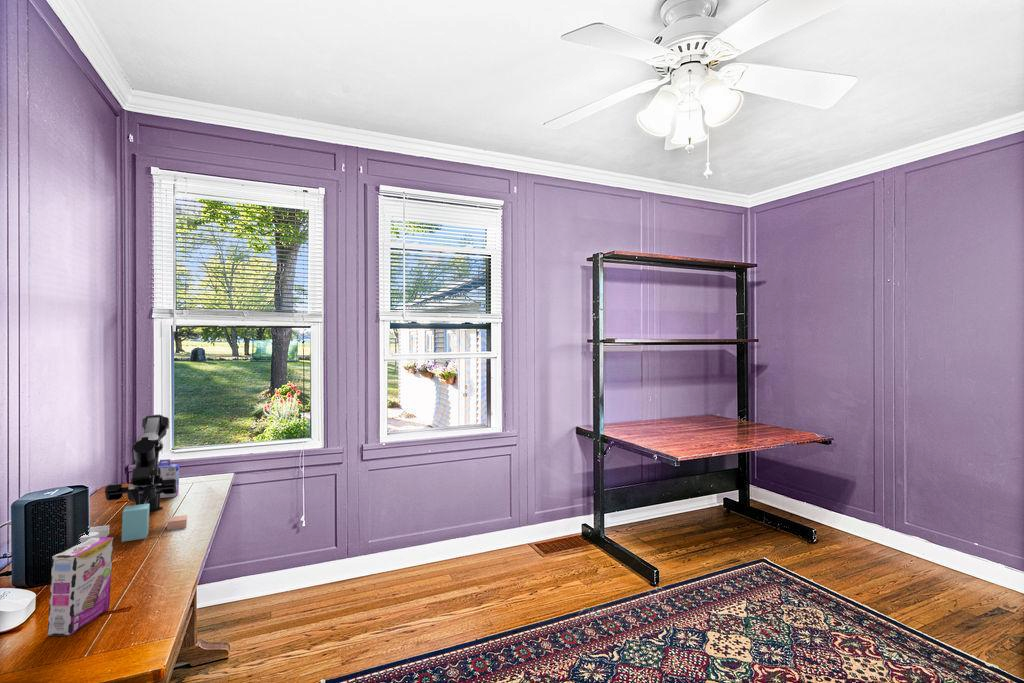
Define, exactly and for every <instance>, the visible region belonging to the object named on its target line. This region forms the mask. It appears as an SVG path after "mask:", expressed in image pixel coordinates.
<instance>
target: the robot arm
mask: <svg viewBox="0 0 1024 683" xmlns="http://www.w3.org/2000/svg"><path fill="white" fill-rule="evenodd" d="M141 421H142V422H141V429H142V431H143V434H142V435H141V436H139V437H138V438H137V440H136V442H134V444H132V445H133V446H132V448H131V451H132V453H133V457H134V461H135V464H134V468H132V471H131V480H130V483H131V485H128V486H125V487H123V484H122V482H119V483H109V484H107V485H106V486H105V488H104V494H105V500H106V501H118V500H121V499H122V498H123V495H125V494H127V500H128V501H132V503H133V505H140V504H149V503H150V508H149V513H153V512H156V511H158V510H163V509H164V508H163V506H161V498H160V494H161V493H164V494H165V495H166V494H174V493H176V488H177V484H176V479H175V478H171V479H163V477H161V470H160V468H159V467H158V465H159V460H160V459H159V457H160V452H161V451H162V450H163V448H164V444H163V442H162V439H163V438H164V437H165V436H166V435H167V430H169V429H170V419H169V417H167V416H163V414H160V413H159V414H148V415H146V417H144V418H142V420H141Z"/></svg>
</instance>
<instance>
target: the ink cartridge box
mask: <svg viewBox="0 0 1024 683" xmlns="http://www.w3.org/2000/svg"><path fill="white" fill-rule="evenodd" d="M158 467H159V468H160V470H161V477H163V479H171V478H175V479H176V484H177V488H176V493H174V494H166V495H165V494H164V493H161V494H160V499H161V498H162V499H163V498H164V499H165V498H175V497H176V496H178V495H179V493H180V492H179V490H180V463H177V464H171V458H169V459H168V458H167V459H159V461H158Z"/></svg>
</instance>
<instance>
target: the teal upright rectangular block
mask: <svg viewBox="0 0 1024 683" xmlns="http://www.w3.org/2000/svg"><path fill="white" fill-rule="evenodd" d="M149 508H150V503H149V504H140V505H135V504H133V505H126V506H125V507H124V508H123V511H122V515H121V516H122V521H121V543H123V542H129V541H137V540H143V539H147V538H148V535H149V533H150V532H149V530H150V512H149Z"/></svg>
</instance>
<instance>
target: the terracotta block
mask: <svg viewBox="0 0 1024 683" xmlns="http://www.w3.org/2000/svg"><path fill="white" fill-rule="evenodd" d="M187 524H188V515H186V514H185V515H177V516H170V517H168V520H167V526H166V528H167V529H166V530H167V531H170V530H178V529H185V528H187Z"/></svg>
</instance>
